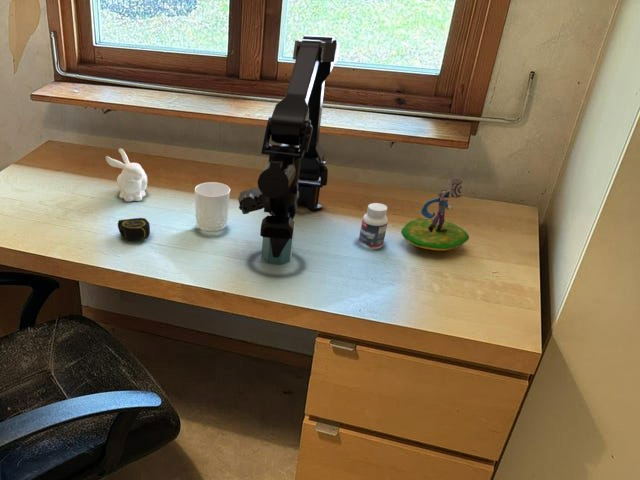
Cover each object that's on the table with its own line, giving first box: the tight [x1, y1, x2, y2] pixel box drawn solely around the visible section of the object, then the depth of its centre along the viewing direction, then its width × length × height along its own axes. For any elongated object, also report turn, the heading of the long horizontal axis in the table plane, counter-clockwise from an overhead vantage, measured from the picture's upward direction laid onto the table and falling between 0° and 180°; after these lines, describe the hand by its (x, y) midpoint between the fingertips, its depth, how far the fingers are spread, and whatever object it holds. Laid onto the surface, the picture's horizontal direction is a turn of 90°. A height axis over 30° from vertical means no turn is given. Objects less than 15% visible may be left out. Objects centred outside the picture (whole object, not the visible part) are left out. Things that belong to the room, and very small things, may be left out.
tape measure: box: [117, 217, 151, 242], centre depth 154 cm, size 7×7×4 cm
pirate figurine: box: [400, 178, 470, 251], centre depth 145 cm, size 14×13×15 cm
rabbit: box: [105, 147, 149, 203], centre depth 171 cm, size 12×9×12 cm
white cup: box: [194, 181, 231, 232], centre depth 155 cm, size 8×8×10 cm
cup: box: [260, 227, 296, 265], centre depth 142 cm, size 6×6×7 cm
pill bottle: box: [358, 202, 389, 250], centre depth 148 cm, size 5×5×9 cm
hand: (277, 249), depth 143 cm, fingers closed on cup, 6 cm apart
